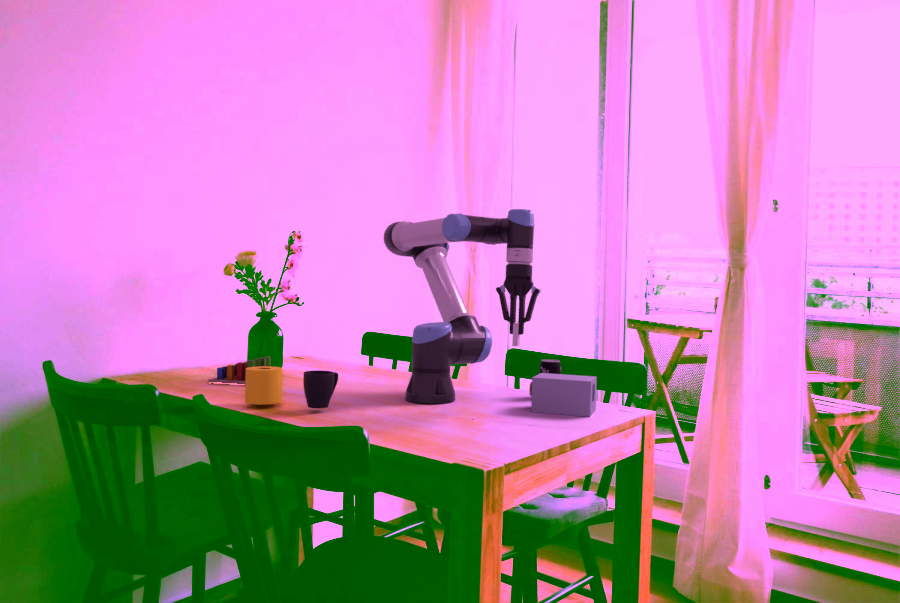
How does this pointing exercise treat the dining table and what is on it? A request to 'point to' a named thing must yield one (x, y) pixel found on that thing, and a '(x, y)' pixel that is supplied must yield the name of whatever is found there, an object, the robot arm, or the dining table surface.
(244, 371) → the peg board toy
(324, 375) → the mug
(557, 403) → the block
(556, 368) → the beverage can
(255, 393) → the toilet paper roll
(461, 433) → the dining table surface
